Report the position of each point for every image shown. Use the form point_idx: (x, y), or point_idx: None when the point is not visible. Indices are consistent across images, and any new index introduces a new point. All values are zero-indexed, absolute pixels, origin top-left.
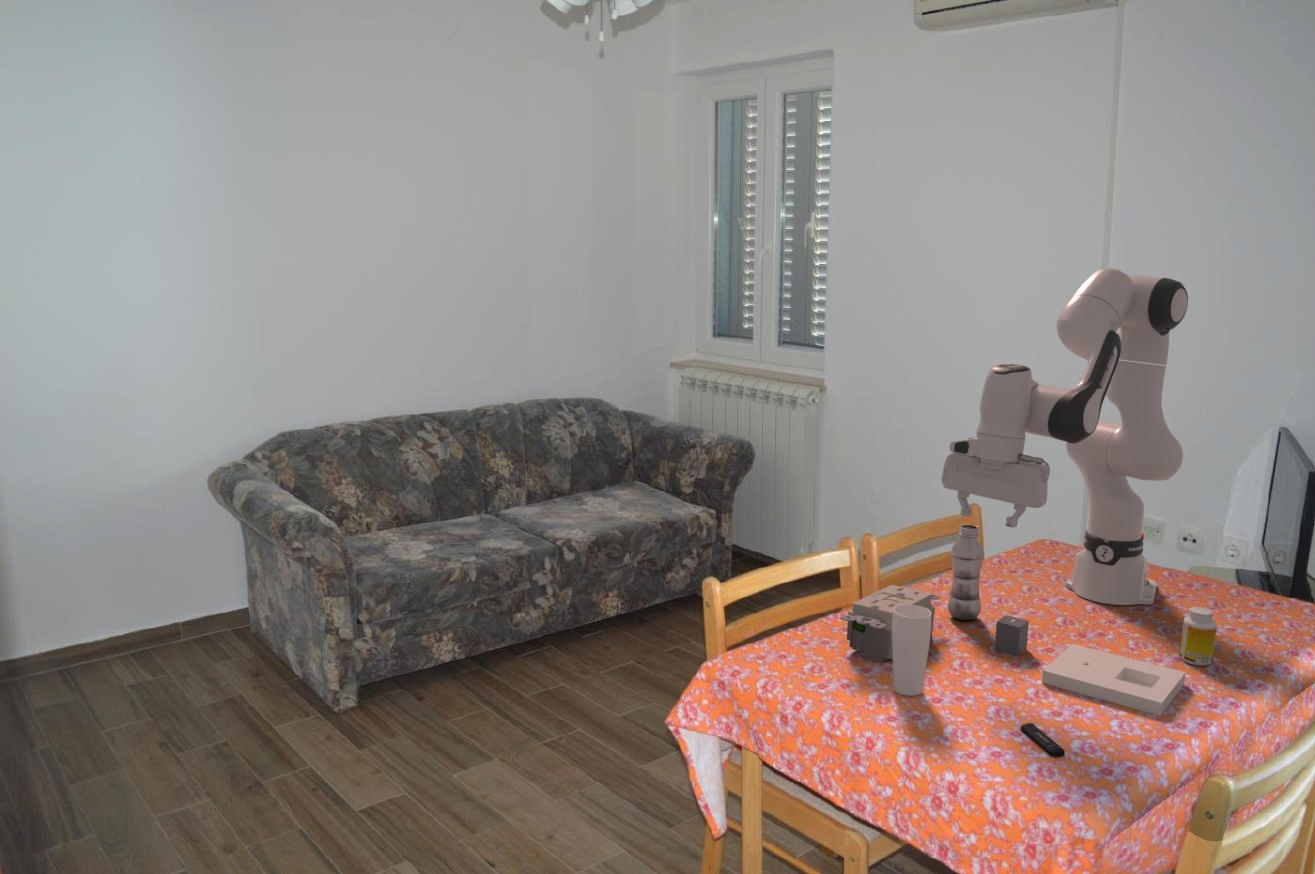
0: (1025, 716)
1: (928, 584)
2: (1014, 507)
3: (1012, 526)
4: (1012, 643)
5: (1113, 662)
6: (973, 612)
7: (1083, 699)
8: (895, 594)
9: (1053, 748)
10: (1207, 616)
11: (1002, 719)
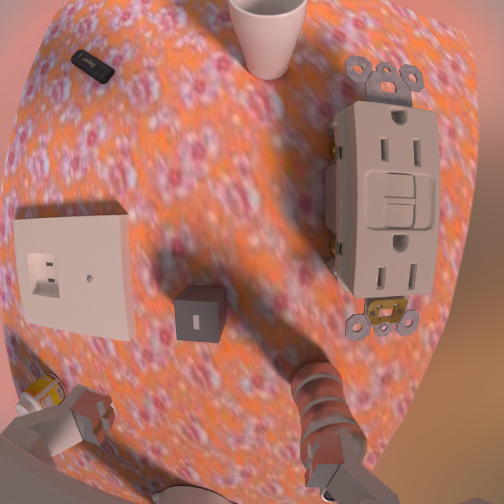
0: (117, 103)
1: (389, 440)
2: (33, 438)
3: (79, 385)
4: (193, 290)
5: (72, 306)
6: (296, 375)
7: (79, 201)
8: (408, 233)
9: (78, 52)
10: (17, 403)
11: (136, 76)
